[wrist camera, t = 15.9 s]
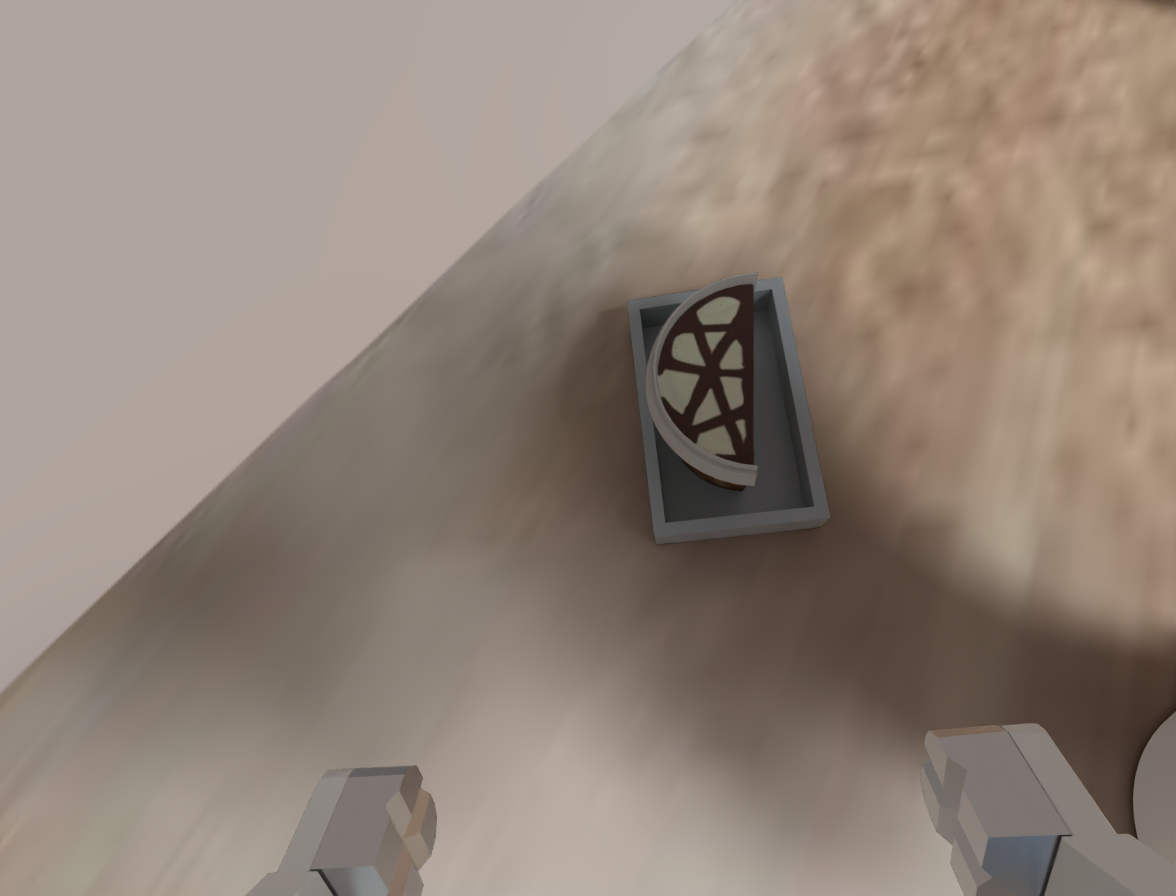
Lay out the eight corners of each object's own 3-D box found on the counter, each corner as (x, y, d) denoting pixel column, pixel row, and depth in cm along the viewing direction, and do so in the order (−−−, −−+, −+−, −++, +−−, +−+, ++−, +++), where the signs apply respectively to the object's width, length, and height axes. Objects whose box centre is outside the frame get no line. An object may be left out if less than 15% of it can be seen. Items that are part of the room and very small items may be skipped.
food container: (657, 342, 46) (647, 266, 36) (743, 342, 45) (757, 263, 35) (649, 509, 43) (637, 473, 33) (742, 513, 41) (757, 477, 32)
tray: (775, 302, 46) (782, 276, 43) (819, 527, 41) (830, 517, 38) (631, 324, 47) (626, 300, 44) (656, 544, 42) (654, 537, 39)
